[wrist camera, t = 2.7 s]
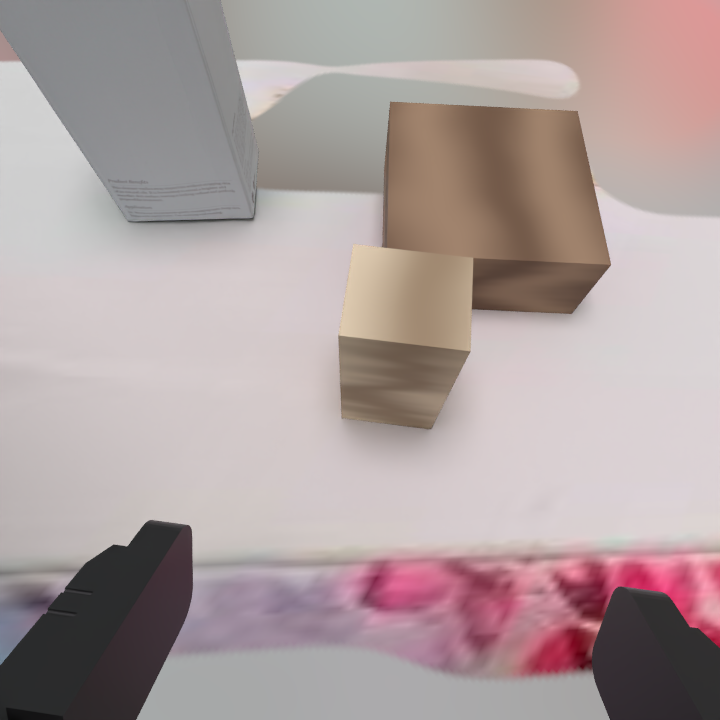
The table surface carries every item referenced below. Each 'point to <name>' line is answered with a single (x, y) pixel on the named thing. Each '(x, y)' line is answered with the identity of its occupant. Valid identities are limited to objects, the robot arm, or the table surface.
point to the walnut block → (497, 200)
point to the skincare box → (145, 100)
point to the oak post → (403, 334)
